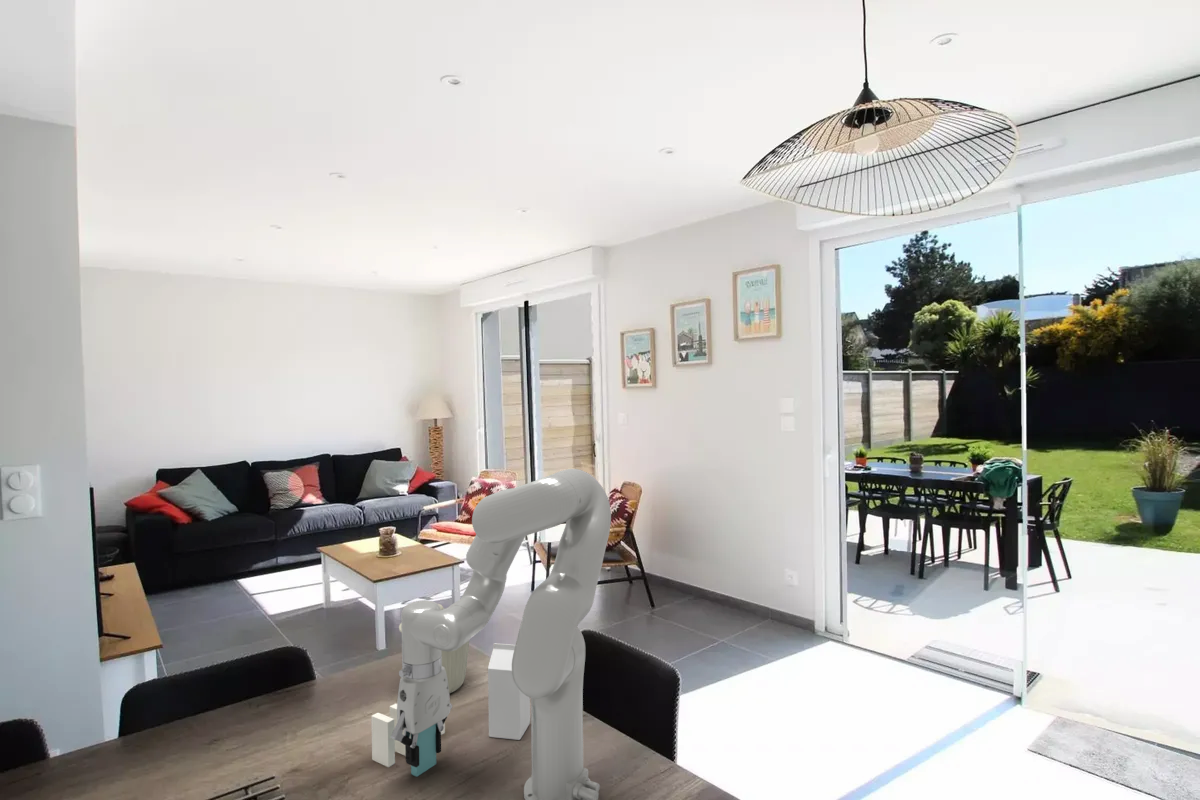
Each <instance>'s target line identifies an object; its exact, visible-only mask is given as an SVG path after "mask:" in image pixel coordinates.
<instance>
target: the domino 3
mask: <svg viewBox="0 0 1200 800" xmlns="http://www.w3.org/2000/svg"><path fill="white" fill-rule="evenodd" d="M411 737H412V734H411ZM417 746H419V766H418V767H414V766H411V765H410V769H411V771H410V772H411V775H412V776H414V777H419V776H421V775H422V774H423V773H425V772H426V771H428V770H429V769H431V768H432V767H434V766H435V765H437V753H436V724H434V725H433V726H431V727H429V728H428V729H426V730H424V731H422V732H420V733H419V734H418V739H417Z"/></svg>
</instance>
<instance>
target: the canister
mask: <svg viewBox="0 0 1200 800" xmlns="http://www.w3.org/2000/svg"><path fill="white" fill-rule="evenodd" d="M437 604H438V605H439V606H440V609H441V610H443V609H445V607H444V606H443V605H442V604H441V603H437ZM398 630H399V632H400V633H401V634H402V625H401V623H399V625H398ZM469 646H470V640H469V641H468V642H466V643H465V644H464V645H462V646H461V647H460V648H458V649H457V650H454V651H448V652H447V651H442V666H443V667H444V668H445V671H446V675H447V679H448V686H449V694H452V693H454V692H455V691H457V690H458V689H460V687H461V686H463V683H464V681H465V679H466V674H467V666H468V657H469Z"/></svg>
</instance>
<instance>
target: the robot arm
mask: <svg viewBox="0 0 1200 800" xmlns="http://www.w3.org/2000/svg"><path fill="white" fill-rule="evenodd" d="M471 517H472V518H471V524H472V529H473V532H474V534H475V536H474V539H473V540H472V542H471V544H470V546H469V548H468V550H467V552H466V554H465V555H466V556H465V559H466V563H467V564H468V566H469V567H470V569H471V570H472V571H473V572H472V574H471V577H470V579H469V582H468V584H467V587H466V588H465V590H464V591H463V594H462V595H461V597H460V598H459V600H457V601H455V602H454V603H452V604H450V605H449V606H447V607H446V608H445V607H444V608H445V609H443V610H441V609H440V606H439V605H438V604H439V603H437V602H435V601H432V600H418V601H417V600H416V601H413V602H410V603H408V604H406V605H405V606H404V607H403V609H402V610H401V615H400V617H401V618H400V621H401V622H400V624H401V625H402V633H401V657H402V658H401V665H402V666H401V669H400V670H399V671H398V675H399V677H400V679H399V684H398V693H397V701H396V704H397V724H396V726H395V728H394V731H393V733H392V735H391V738H392V739H394V740H397V741H399V742H401V743H402V744H404V745H405V752H406V756H405V763H406V764H407V765H409V766H410V767H411V766H414V767H418V766H419V746H417V739H418V734H419V733H420V732H422V731H424V730H426V729H428V728H429V727H431V726H433V725H434V724H436V754H440V753H441V752H442V735H441V732H442V731H443V729H444V726H443V724H444V722H445V723H446V720H447V718H448V716H449V714H450V712H451V711H452V708H453V704H452V703H451V698H450V697H451V695H450V693H449V686H448V679H447V675H446V671H445V668H444V667H443V666H442V651H447V652H448V651H454V650H457V649H458V648H460V647H461V646H462V645H464V644H465V643H466V642H468V641H469V642H470V640H471V639H472V638H473V637H475V636H476V635H477V634H479V633H480V632H481V631H482V630H484V628H485V627H486V626H487V624H489V622H490V620H491V619H492V615H494V612H495V610H496V608H497V606H498V604H499V602H500V600H501V598H502V596H503V593H504V591H505V587H506V582H507V578H508V575H507V574H508V572H509V570H510V568H511V566H512V564H513V562H514V559H515V558H516V555H517V553H518V551H519V549H520V548H521V546H522V544H523V542H524V540H525V538H526V537H527V536H529V535H532V534H535V533H538V532H542V531H545V530H548V529H551V528H554V527H558V526H560V525H562V524H564V523H565V526H564V529H563V531H562V534H561V537H560V538H559V539H560V540H559V543H558V546H557V551H556V556H555V559H554V562H553V567H552V568H551V571H550V574H549V575H548V576H547V578H546V579H545V580H544V581H542V582H541V583H540V584H538V586H536V588H535V589H534V590H533V591H532V593H531V594H530V596H529V597H528V600H527V602H526V605H525V608H524V610H523V614H522V618H521V623H520V626H519V630H518V634H517V637H516V642H515V644H514V645H515V649H514V653H513V658H512V676H513V679H514V682H515V684H516V686H517V687H518V689H519V690H520V691H521V692H522V693H523V694H524V695H526V696H528V697H530V724H531V725H530V726H531V727H530V729H531V730H530V731H531V735H530V736H531V741H530V743H531V776H529V778H528V779H527V780H526V781H525V783H524V786H523V797H524V800H599V796H600V795H599V792H600V791H599V790H600V788H601V785H600V783H598V782H595V781H592V780H591V779H590V778H589V768H587V767H584V727H583V726H584V725H583V724H584V721H583V718H584V717H583V716H584V715H583V713H584V711H583V710H584V705H583V704H584V703H583V702H584V700H583V699H584V698H583V695H584V694H583V693H584V690H583V689H584V676H585V675H584V673H585V662H586V642H585V639H584V635H583V634H582V631H581V629H580V628H578V626H579V624H580V623H581V622H582V621H583V620H584V619H585V617H587V615H588V614H589V613H590V611H591V609H592V607H593V604H594V601H595V600H594V599H595V595H596V592H597V586H598V583H599V579H600V574H601V571H602V567H603V562H604V557H605V553H606V549H607V546H608V545H607V544H608V540H609V536H610V531H611V523H612V510H611V504H610V500H609V498H608V495H607V493H606V490H605V489H604V488H603V486H602V485H601V483H600V482H599V481H598V480H597V479H596V477H594V476H593V475H592V474H590V473H589V472H587V471H584V470H583V469H578V468H568V469H563V470H560V471H556V472H555V473H553V474H549V475H547V476H545V477H541V478H539V479H537V480H533V481H530V482H527V483H525V484H522V485H520V486H517V487H513V488H511V487H510V488H506V489H505V488H504V489H502V490H500V491H497V492H494V493H491V494H490V495H489V494H488V495H487V496H485V497H483V498H481V500H480V501H479V502H477V504H476V506H475V507H474V510H473V512H472V516H471ZM404 728H405V730H404ZM403 730H404V735H403V734H402V733H403ZM410 733H411V734H412V737H411V739H410V738H409V737H410Z"/></svg>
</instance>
